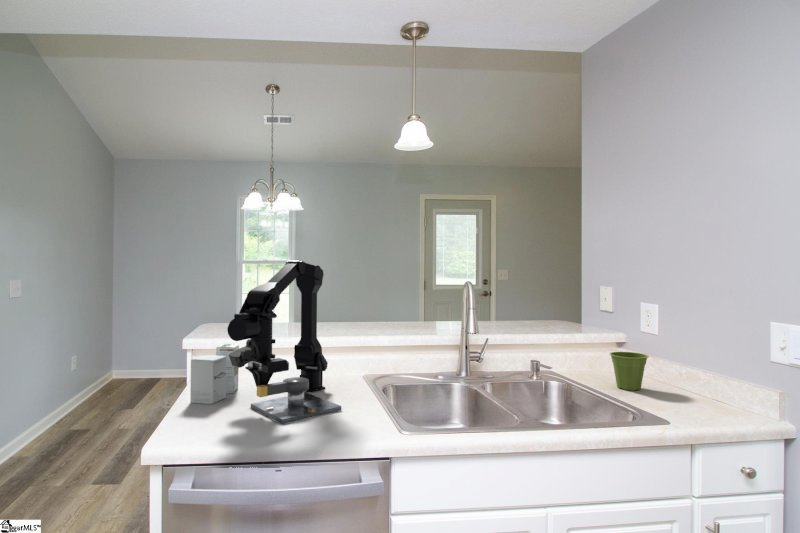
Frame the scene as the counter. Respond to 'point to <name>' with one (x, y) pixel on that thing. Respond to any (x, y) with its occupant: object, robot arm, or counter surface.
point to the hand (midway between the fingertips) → (260, 393)
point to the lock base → (295, 407)
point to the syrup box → (229, 366)
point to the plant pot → (629, 369)
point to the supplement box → (208, 379)
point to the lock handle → (284, 387)
